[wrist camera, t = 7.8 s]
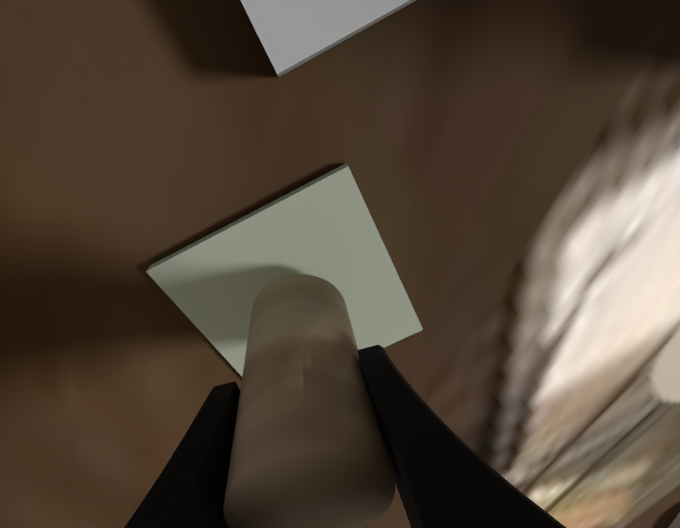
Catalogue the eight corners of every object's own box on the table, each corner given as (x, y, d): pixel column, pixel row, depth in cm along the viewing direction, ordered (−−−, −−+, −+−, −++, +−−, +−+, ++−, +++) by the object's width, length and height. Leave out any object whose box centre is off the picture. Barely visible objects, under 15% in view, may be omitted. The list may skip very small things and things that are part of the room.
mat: (419, 322, 16) (423, 329, 15) (266, 394, 16) (265, 402, 16) (345, 163, 12) (348, 166, 11) (150, 265, 12) (145, 271, 12)
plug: (363, 295, 13) (427, 468, 7) (319, 361, 14) (343, 554, 8) (276, 259, 11) (268, 432, 6) (236, 335, 13) (197, 539, 7)
